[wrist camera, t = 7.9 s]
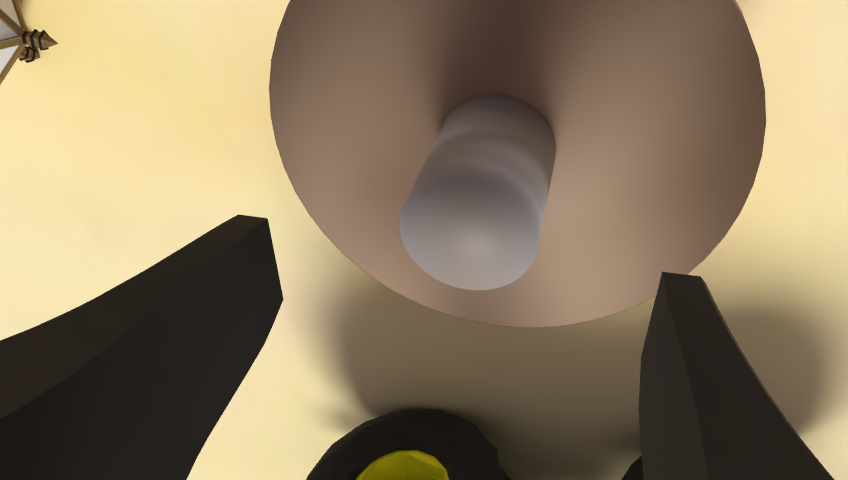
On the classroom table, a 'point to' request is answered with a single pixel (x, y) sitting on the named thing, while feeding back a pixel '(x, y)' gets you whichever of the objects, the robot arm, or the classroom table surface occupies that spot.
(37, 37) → the game die
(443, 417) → the toy tractor
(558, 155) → the lid
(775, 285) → the classroom table surface
